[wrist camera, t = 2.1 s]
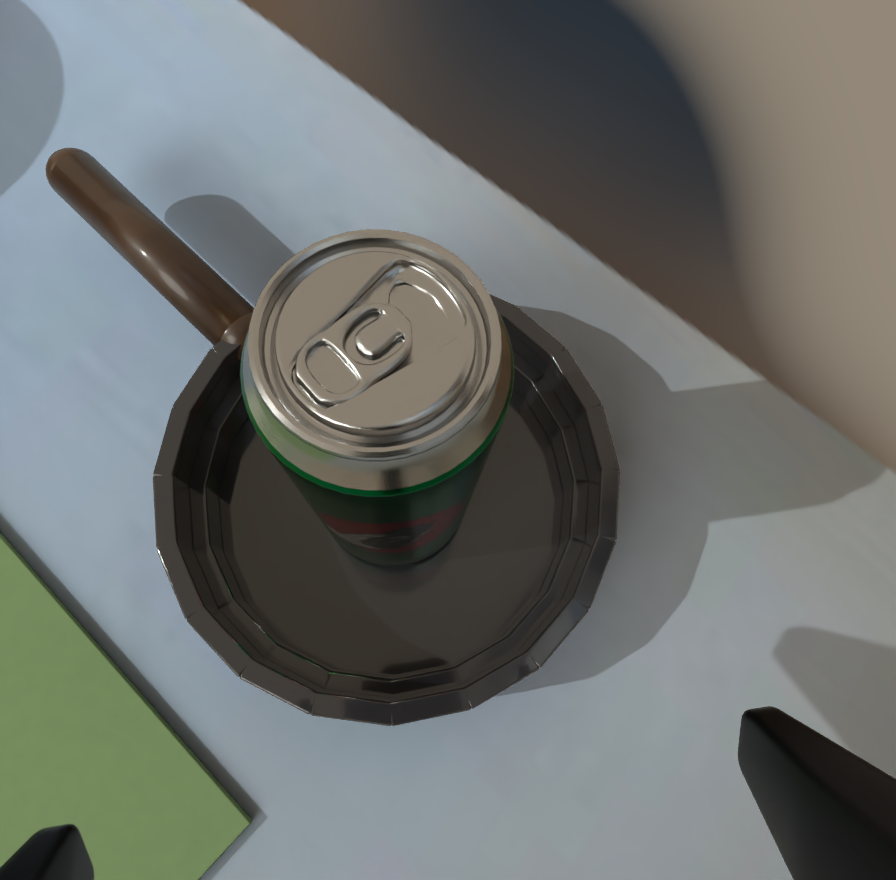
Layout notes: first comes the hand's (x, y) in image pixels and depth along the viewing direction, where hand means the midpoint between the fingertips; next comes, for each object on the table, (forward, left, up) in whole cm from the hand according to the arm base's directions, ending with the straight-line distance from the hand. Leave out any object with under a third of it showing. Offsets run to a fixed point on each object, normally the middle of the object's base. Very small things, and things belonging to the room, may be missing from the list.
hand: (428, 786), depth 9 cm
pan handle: (+17, -4, -11) cm, 20 cm away
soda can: (+5, -4, -12) cm, 14 cm away
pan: (+5, -4, -12) cm, 14 cm away
